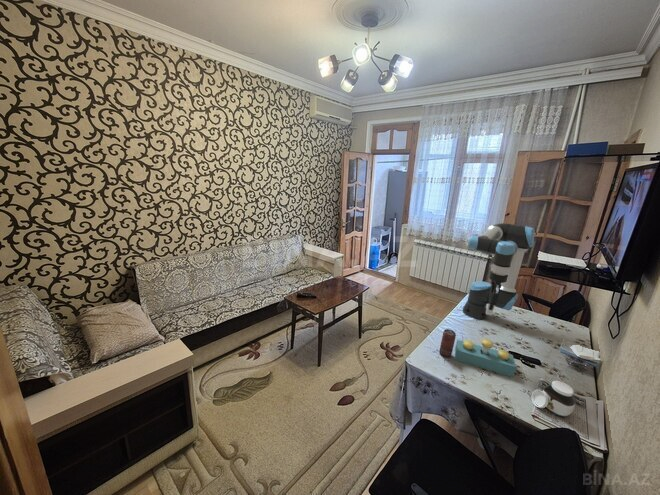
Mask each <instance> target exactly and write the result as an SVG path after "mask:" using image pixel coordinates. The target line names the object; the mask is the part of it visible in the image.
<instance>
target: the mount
mask: <svg viewBox="0 0 660 495" xmlns="http://www.w3.org/2000/svg"><path fill="white" fill-rule="evenodd" d="M464 341H465V340H460V339H456V344H455V349H454V360H455V361H459V362H461V363H464V364H468V365H470V366H474V367H478V368H481V369H484V370H488V371H490V372H493V373H497V374H500V375H504V376H506V377H507V376H508V377H511V378H514V376H515V373H516V370H517V365H516V361H515V357H514V355H513V354H511V353H509V354H510V356H509V359H508V360H506V361H505V360H502V359H499V356H498V351H499V350H496V349H493V348H489V351H488V355H484V354H481V352H482V349H483V345H478V344H475V343H473V344H474V346H473V349H471V350H467V349H464V346H463V342H464Z"/></svg>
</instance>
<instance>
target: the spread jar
mask: <svg viewBox="0 0 660 495" xmlns="http://www.w3.org/2000/svg"><path fill="white" fill-rule="evenodd" d="M573 394H574V389H573V388H572V387H571V386H570V385H569V384H567V383H565V382H562V381H559V380H553V381H552V383H551V384H548V385H546V386H545V387H544V388H543V390H540V389H536V390H533V391H532V393H531V397H530V399H531V402H532V405H534V406H535V407H537V408H539V409H544V408H545V407H546V408H547V409H548V410H547V411H549V412H550V411H551V412H552V413H551V412H550V413H551V414H553V413H554V414H553V415H555V414H556V415H555V416H558V417H567V416H570V415H571V414H572V413H573V411H574V409H575V406H576V398H575V397H574V395H573ZM535 403H536V404H537V405H538V406H537V405H536V404H535ZM546 408H545V409H546Z"/></svg>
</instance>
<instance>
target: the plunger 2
mask: <svg viewBox="0 0 660 495" xmlns="http://www.w3.org/2000/svg"><path fill="white" fill-rule="evenodd" d="M497 351H498V356H499V359H502V360H505V361H506V360H508V359H509V356H510V354H511V353H509V352H508V351H507V350H504V349H499V350H497Z"/></svg>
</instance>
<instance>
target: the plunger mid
mask: <svg viewBox="0 0 660 495" xmlns="http://www.w3.org/2000/svg"><path fill="white" fill-rule="evenodd" d="M481 340H482V341H481V346H482V347H483V349H482V352H481V354H484V355H488V351H489V348H490V349H493V346H494V342H493V341H492V340H490V339H487V338H482V339H481Z"/></svg>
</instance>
